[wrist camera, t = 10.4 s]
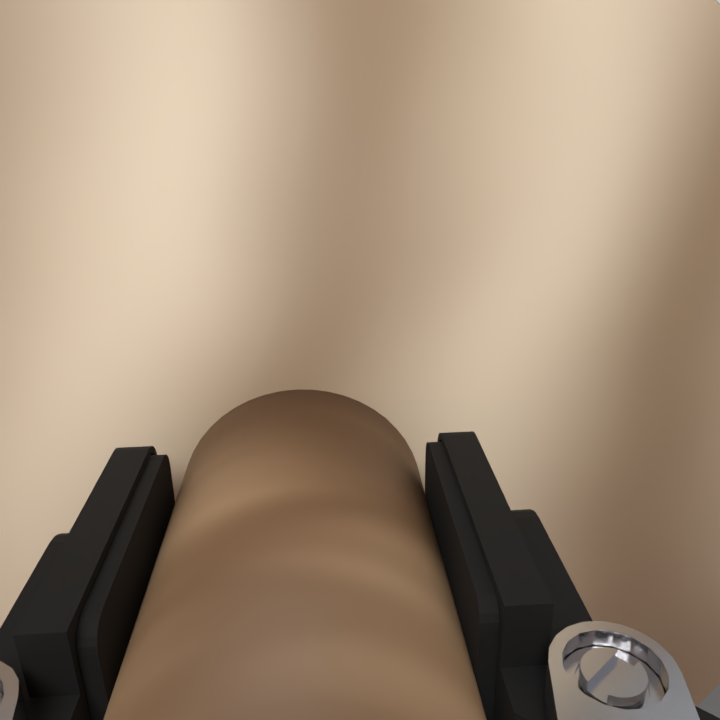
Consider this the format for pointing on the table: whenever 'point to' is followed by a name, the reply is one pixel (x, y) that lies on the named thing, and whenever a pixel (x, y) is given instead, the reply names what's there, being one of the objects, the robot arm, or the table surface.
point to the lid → (362, 323)
